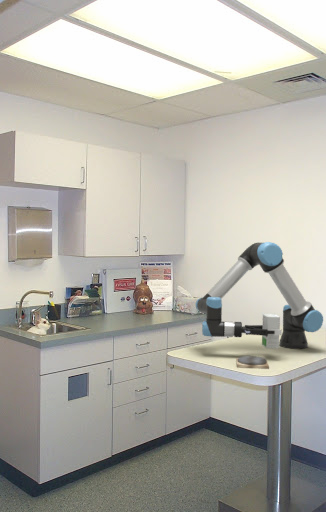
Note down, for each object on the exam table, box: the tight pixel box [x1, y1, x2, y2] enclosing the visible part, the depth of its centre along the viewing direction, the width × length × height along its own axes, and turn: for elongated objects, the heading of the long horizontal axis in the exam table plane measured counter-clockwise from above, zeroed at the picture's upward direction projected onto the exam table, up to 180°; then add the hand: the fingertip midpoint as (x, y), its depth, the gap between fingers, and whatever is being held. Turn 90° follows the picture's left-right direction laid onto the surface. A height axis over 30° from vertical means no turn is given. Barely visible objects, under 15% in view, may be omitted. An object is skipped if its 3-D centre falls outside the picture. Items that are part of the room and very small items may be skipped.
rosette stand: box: [235, 355, 270, 370], centre depth 223 cm, size 14×14×2 cm
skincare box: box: [261, 313, 281, 349], centre depth 237 cm, size 8×7×16 cm
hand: (280, 330), depth 236 cm, fingers closed on skincare box, 9 cm apart
